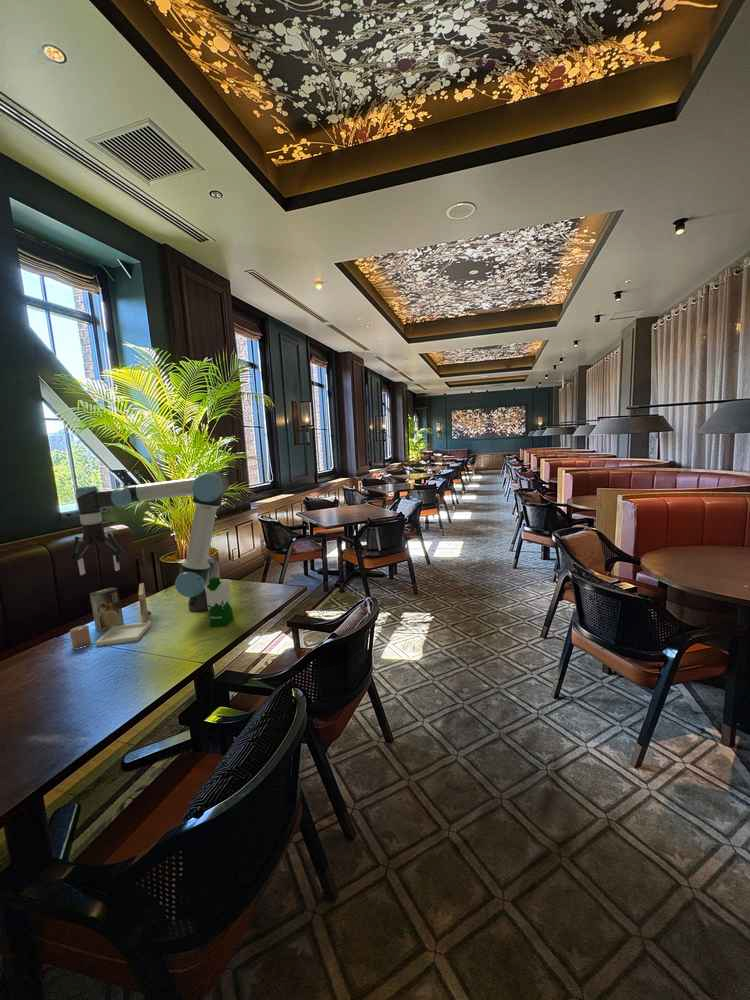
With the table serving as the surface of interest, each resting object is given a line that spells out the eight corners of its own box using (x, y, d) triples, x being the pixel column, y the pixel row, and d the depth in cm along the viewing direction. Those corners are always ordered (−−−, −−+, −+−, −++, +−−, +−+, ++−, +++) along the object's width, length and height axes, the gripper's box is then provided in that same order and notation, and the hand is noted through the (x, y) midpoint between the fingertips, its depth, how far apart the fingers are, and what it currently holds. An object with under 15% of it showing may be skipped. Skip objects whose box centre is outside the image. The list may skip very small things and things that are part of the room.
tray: (151, 625, 179) (150, 621, 179) (137, 641, 164) (137, 636, 164) (113, 630, 177) (112, 626, 176) (96, 646, 162) (95, 642, 162)
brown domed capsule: (94, 641, 167) (91, 624, 166) (86, 648, 161) (83, 630, 160) (77, 643, 166) (74, 626, 165) (69, 650, 160) (66, 632, 159)
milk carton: (206, 628, 172) (201, 581, 169) (217, 619, 181) (211, 574, 178) (227, 627, 171) (221, 580, 168) (236, 618, 180) (231, 573, 177)
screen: (150, 611, 196) (146, 582, 194) (150, 624, 180) (145, 593, 178) (140, 613, 194) (136, 584, 192) (139, 627, 178) (135, 595, 176)
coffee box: (118, 621, 186) (112, 586, 184) (124, 624, 183) (119, 588, 180) (95, 629, 179) (89, 593, 177) (100, 632, 175) (95, 595, 173)
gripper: (127, 518, 180) (135, 566, 183) (64, 524, 176) (72, 573, 179) (120, 521, 173) (128, 570, 176) (53, 528, 169) (63, 578, 172)
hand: (100, 572), depth 178 cm, fingers open, 13 cm apart
